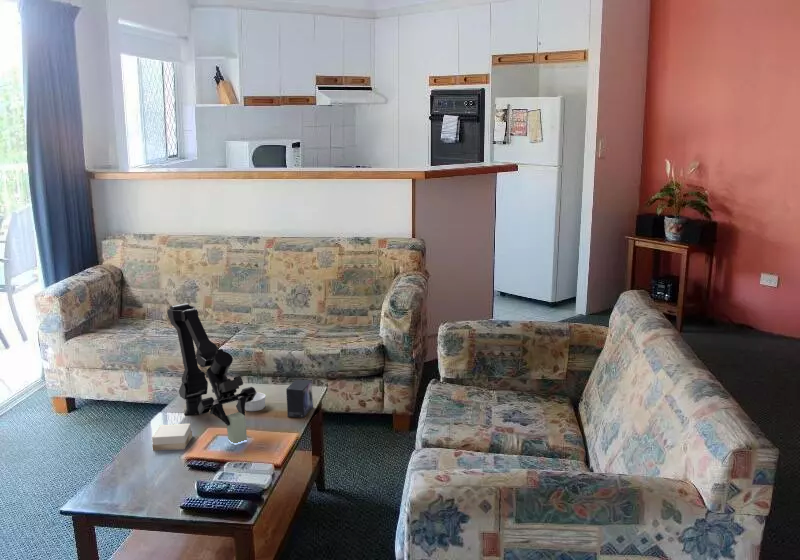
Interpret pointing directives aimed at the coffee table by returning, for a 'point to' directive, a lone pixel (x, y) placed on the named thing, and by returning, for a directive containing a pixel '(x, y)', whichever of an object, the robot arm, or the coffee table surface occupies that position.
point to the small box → (299, 398)
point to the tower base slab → (172, 445)
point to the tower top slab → (171, 434)
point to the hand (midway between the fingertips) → (236, 422)
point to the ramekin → (256, 402)
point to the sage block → (236, 427)
